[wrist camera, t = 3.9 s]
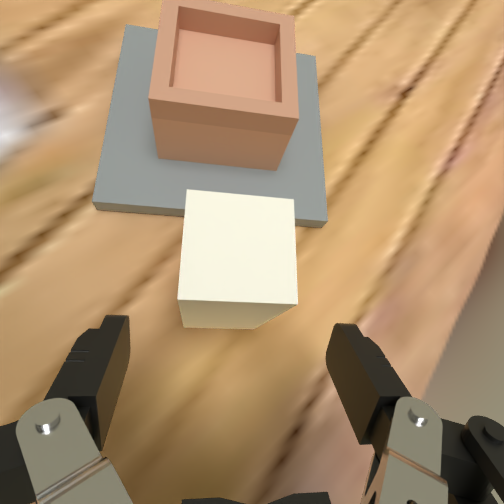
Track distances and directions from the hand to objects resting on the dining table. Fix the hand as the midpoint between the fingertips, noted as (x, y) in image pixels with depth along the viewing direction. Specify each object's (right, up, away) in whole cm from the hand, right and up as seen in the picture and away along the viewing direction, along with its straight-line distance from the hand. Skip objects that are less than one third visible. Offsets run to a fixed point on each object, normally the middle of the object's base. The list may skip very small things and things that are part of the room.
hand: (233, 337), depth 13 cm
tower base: (-2, +13, +13) cm, 19 cm away
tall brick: (-1, 0, +9) cm, 9 cm away
